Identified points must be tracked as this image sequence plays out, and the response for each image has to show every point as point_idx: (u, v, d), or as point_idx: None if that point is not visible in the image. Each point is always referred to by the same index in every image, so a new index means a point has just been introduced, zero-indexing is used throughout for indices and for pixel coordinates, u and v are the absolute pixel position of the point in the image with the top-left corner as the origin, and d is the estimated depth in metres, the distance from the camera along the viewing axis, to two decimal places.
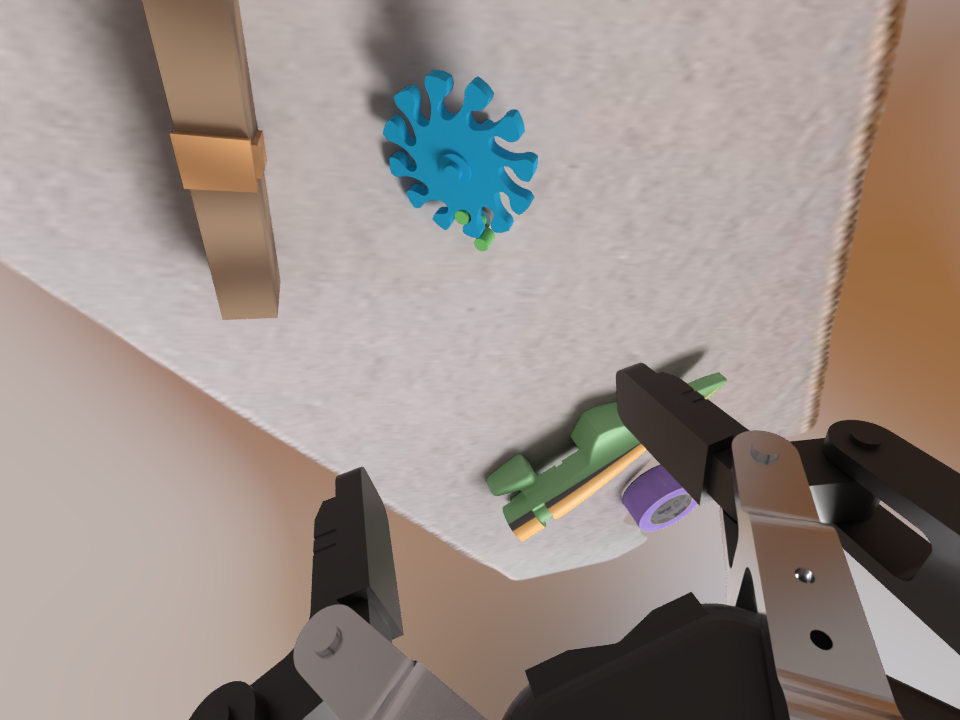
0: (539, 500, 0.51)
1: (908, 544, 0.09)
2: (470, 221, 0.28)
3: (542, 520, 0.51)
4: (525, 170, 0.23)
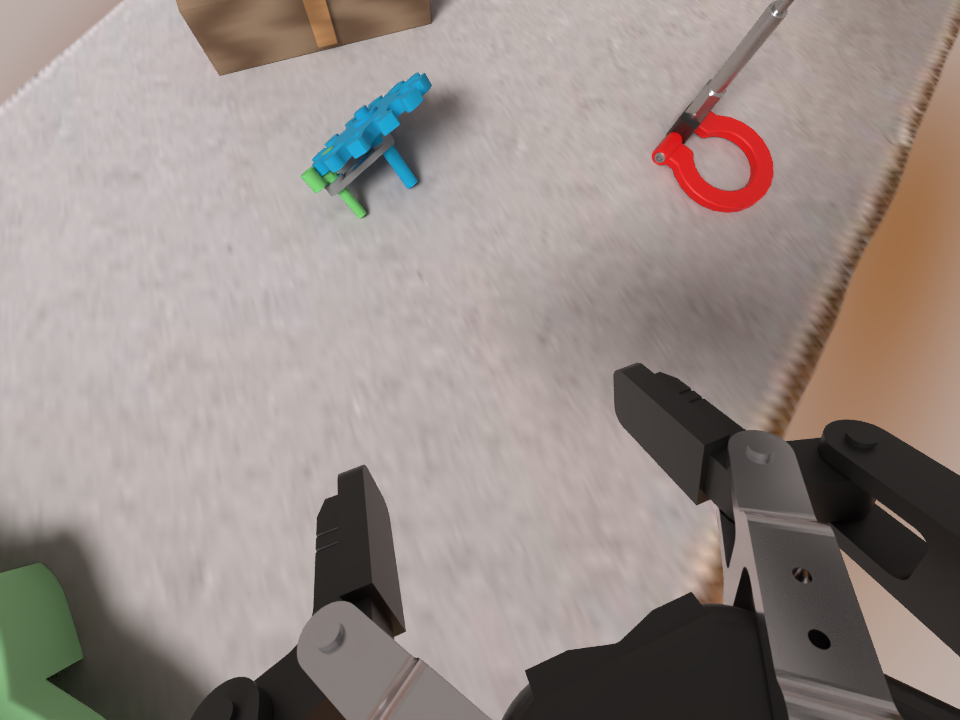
0: None
1: (904, 543, 0.09)
2: None
3: None
4: (383, 116, 0.25)
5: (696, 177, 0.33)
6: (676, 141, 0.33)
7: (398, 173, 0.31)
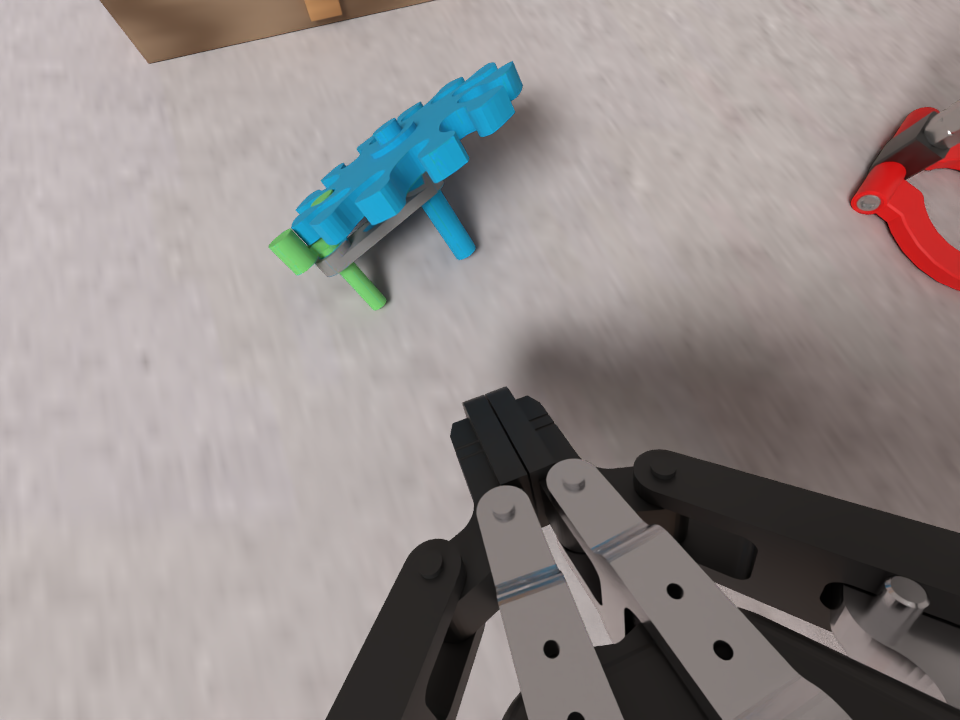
0: None
1: (722, 538, 0.09)
2: None
3: None
4: (436, 143, 0.12)
5: (934, 236, 0.20)
6: (899, 177, 0.20)
7: (445, 236, 0.18)
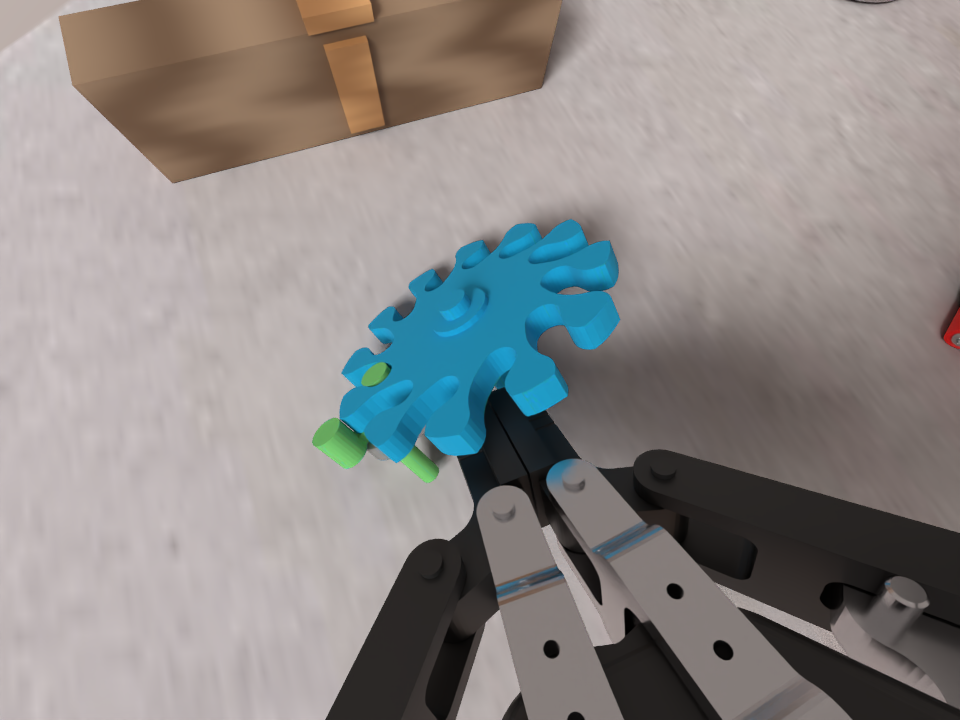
0: None
1: (722, 538, 0.09)
2: (372, 388, 0.13)
3: None
4: (530, 375, 0.10)
5: None
6: None
7: None
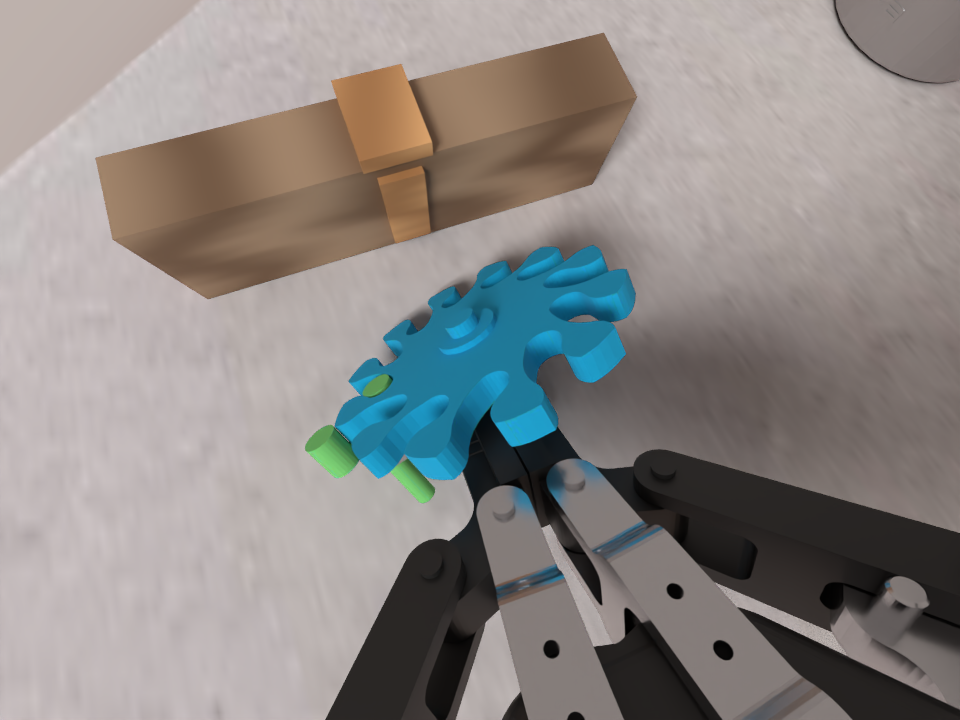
0: None
1: (722, 538, 0.09)
2: (370, 399, 0.13)
3: None
4: (517, 402, 0.09)
5: None
6: None
7: None
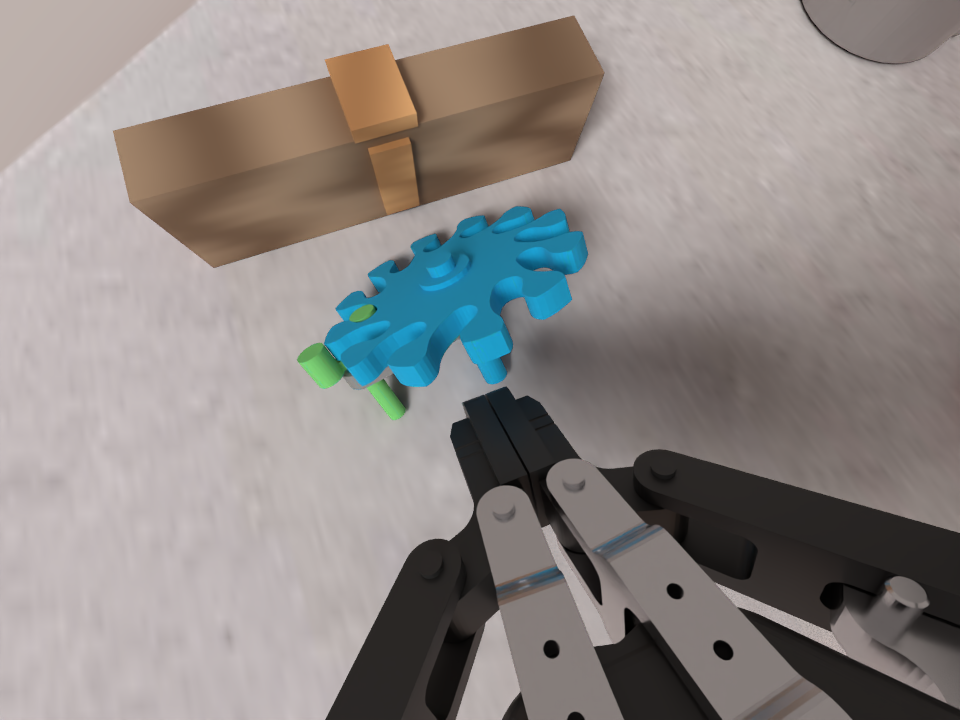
0: None
1: (722, 538, 0.09)
2: None
3: None
4: (482, 328, 0.12)
5: None
6: None
7: None
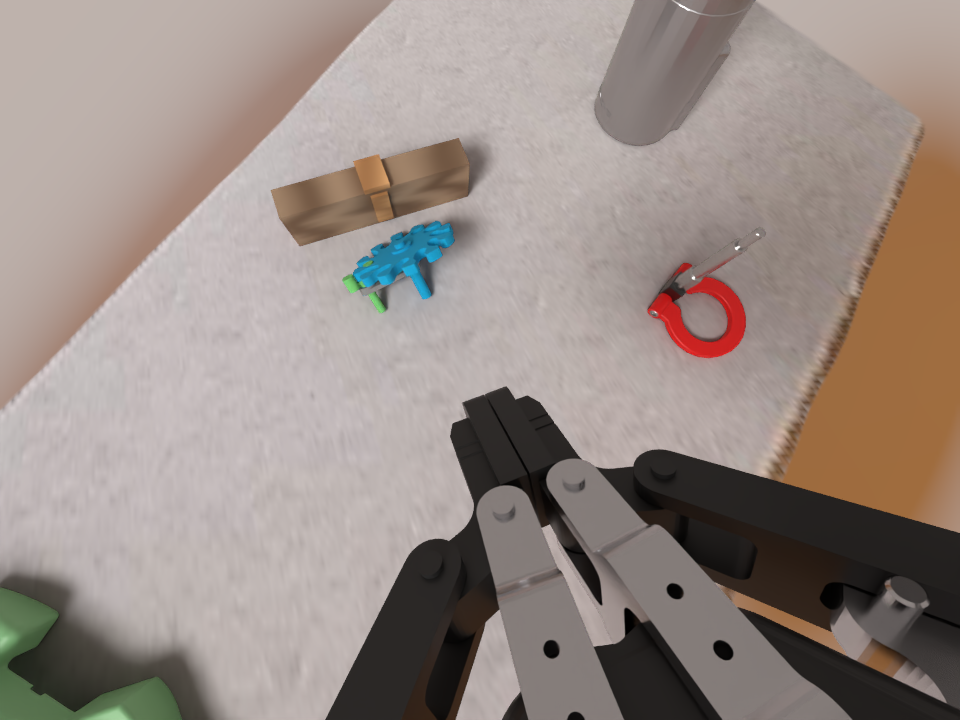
0: None
1: (722, 538, 0.09)
2: (365, 267, 0.38)
3: None
4: (408, 263, 0.34)
5: (683, 330, 0.41)
6: (667, 301, 0.41)
7: (417, 288, 0.40)
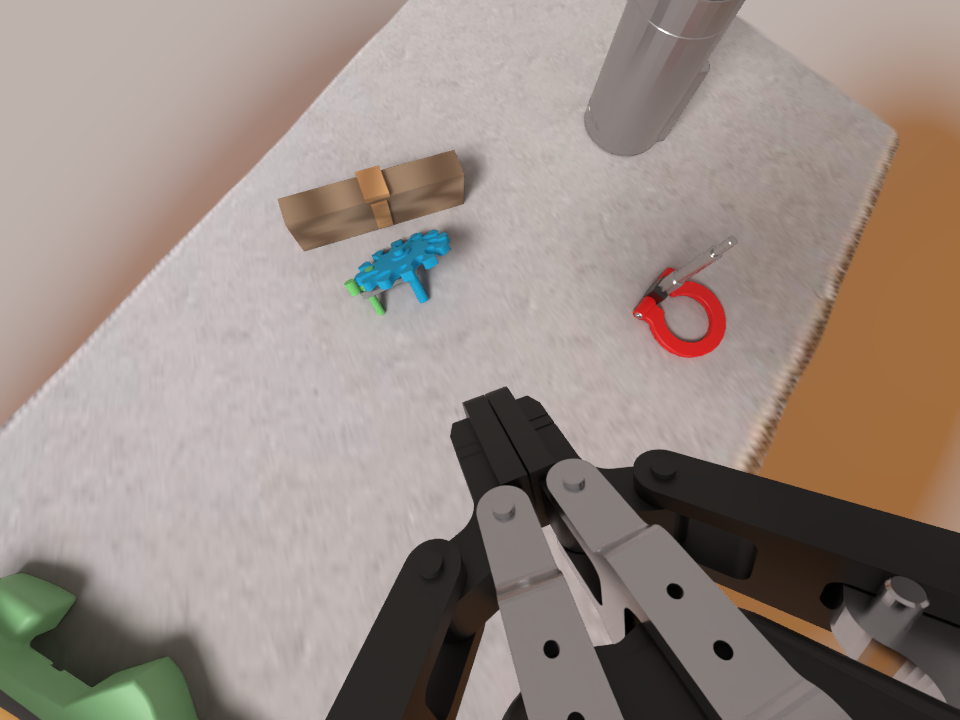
0: None
1: (722, 538, 0.09)
2: (366, 272, 0.40)
3: None
4: (406, 270, 0.37)
5: (666, 332, 0.44)
6: (651, 304, 0.44)
7: (415, 292, 0.42)
